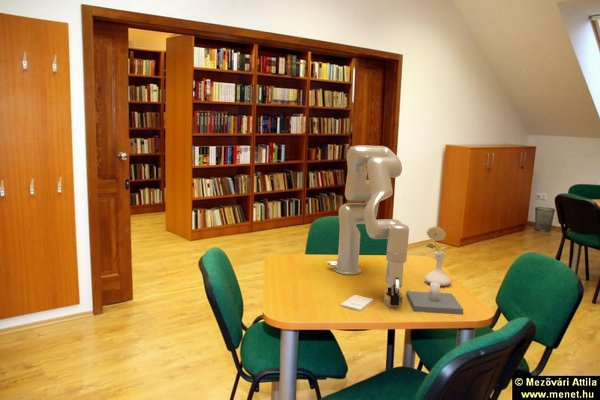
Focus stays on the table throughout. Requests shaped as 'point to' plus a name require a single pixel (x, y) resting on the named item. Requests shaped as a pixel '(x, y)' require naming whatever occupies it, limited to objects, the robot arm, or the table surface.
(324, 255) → the table surface
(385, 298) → the bronze ring
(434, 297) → the piston stand
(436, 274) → the flower in vase
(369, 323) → the table surface
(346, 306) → the external hard drive
